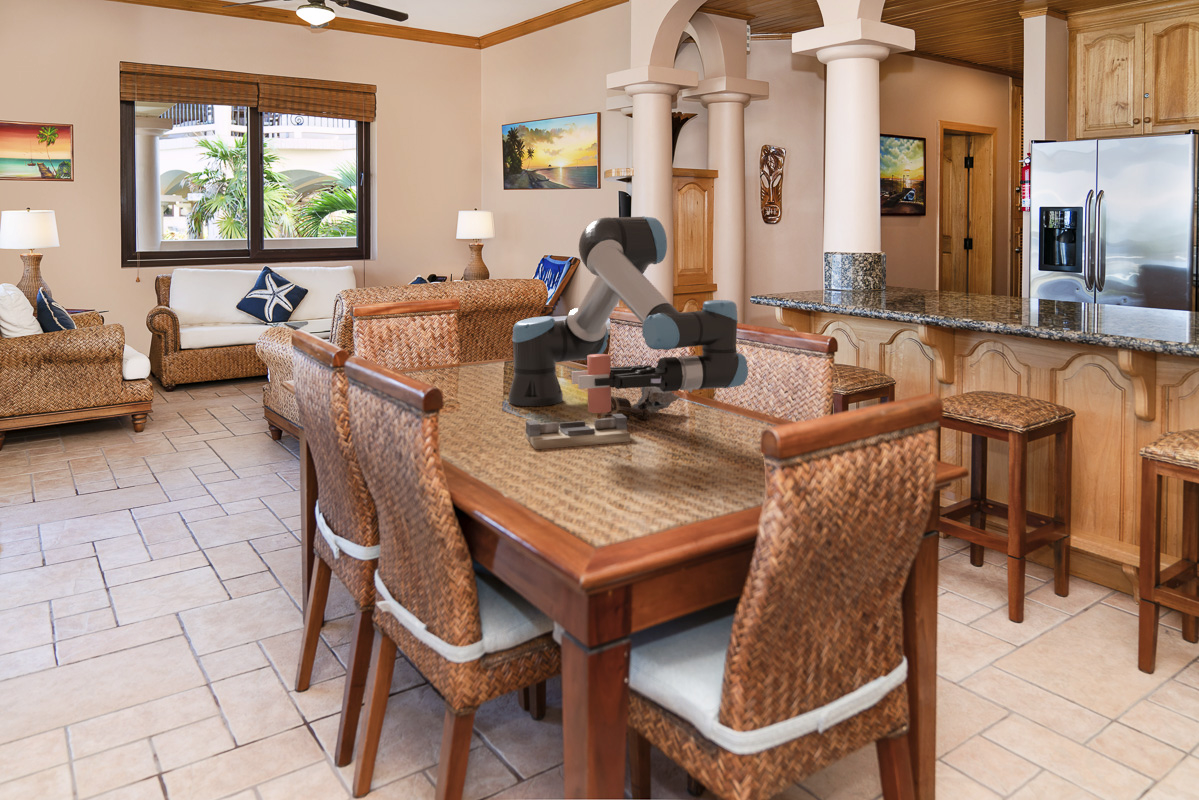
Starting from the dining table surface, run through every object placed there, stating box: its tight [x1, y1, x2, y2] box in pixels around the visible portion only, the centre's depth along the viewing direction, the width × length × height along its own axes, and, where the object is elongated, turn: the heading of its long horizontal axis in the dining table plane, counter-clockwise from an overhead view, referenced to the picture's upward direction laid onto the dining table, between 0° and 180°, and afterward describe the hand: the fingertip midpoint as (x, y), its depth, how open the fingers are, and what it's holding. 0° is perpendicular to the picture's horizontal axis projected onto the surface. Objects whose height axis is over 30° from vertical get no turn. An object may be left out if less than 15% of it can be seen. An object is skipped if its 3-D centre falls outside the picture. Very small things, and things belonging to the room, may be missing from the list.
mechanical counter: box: [601, 395, 651, 422], centre depth 225 cm, size 7×13×10 cm
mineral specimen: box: [631, 387, 680, 414], centre depth 234 cm, size 11×9×12 cm
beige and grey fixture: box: [524, 414, 631, 450], centre depth 208 cm, size 12×23×5 cm, turn 106°
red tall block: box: [586, 353, 612, 414], centre depth 194 cm, size 5×5×12 cm
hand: (575, 380), depth 192 cm, fingers closed on red tall block, 5 cm apart
